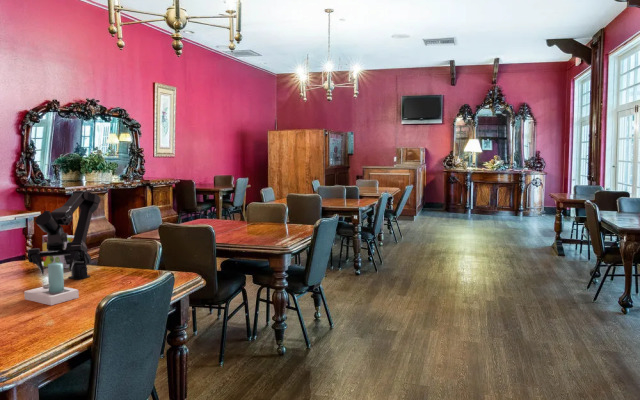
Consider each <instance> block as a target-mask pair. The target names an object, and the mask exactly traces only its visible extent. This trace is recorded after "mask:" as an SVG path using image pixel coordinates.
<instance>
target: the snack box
mask: <svg viewBox="0 0 640 400" xmlns="http://www.w3.org/2000/svg"><path fill="white" fill-rule="evenodd" d="M41 236H42V237H41V239H42V240H41V241H42V242H41V243H42V251H48V250H47V234H45V235H41ZM73 239H74V235H69V234H67V242H64V250H65V249H66V246H67V243H68V242H72V241H73ZM42 259H43V260H42V265H43V267H45V268H48V264H51V263H63V269H69V265H70V264H68V265H67V264H66V261H65V257H64V255H62V256H46V257H42Z"/></svg>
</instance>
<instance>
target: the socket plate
mask: <svg viewBox="0 0 640 400" xmlns="http://www.w3.org/2000/svg"><path fill="white" fill-rule="evenodd" d="M23 292H24V294H23V295H24V300H26V301H31V302H36V303H39V304H43V305H48V306H54V305H57V304H58V305H59V304H60V303H64V302H69V301H72V300H76V299H80V296H79V295H80V293H79V289H76V288H72V287H67V286H64V293H60V294H56V295H50V294H49V284H47V285H43V286H41V287H37V288H32V289H28V290H24V291H23Z"/></svg>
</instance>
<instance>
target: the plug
mask: <svg viewBox="0 0 640 400" xmlns="http://www.w3.org/2000/svg"><path fill="white" fill-rule="evenodd" d="M47 275H48V276H47V277H48V285H49V294H50V295H56V294H60V293H64V287H65V282H64V280H65V279H64V268H63V263H51V264H48V267H47Z"/></svg>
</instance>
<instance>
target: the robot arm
mask: <svg viewBox="0 0 640 400" xmlns="http://www.w3.org/2000/svg"><path fill="white" fill-rule="evenodd" d="M100 203H101V196H100V195H98V193H93V192H88V191H86V190H74V191H73V192H72V194H71V196H70V197H69V198H68V200H66V202H65V203H64V204H63V205H62V206H61V207H58V208H55V209H54V210H52V211H50V210H44V211H43V212H42V213H40V214H39V215H38V216H37V217H35V221H34V222H35V224H36V225H37V226H38V227H39V228H40V230H42V232H44V233H46V235H47V250H48V251H43V250H42V251H40V248H38V247H37V248H29V249H28V250H27V258H28V263H31V264H32V265H36V266H37V267H38V269H39V270H40V273H41V275H44V265H43V260H42V258H43V257H46V256H62V255H64V257H65V261H66V264H67V265H68V264H70V265H69V268H68V269H69V272H71V275H70V276H68V277H67V279H71V280H72V279H73V280H77V281H78V280H82V279H86V278H90V277H91V275H89V274H88V265H90V264H91V263H92V256H91V255H90V254H89V253H88V246H87V244H86V240H87V237H88V234H89V233H88V232H89V228H90V224H91V221H92V216H93V214H94V213H95V212H96V211H97V209H99V205H100ZM78 208H79V210H80V212H79V217H78V220H77V224H76V228H75V231H74V235H73V236H74V239H73V241H72V242H68V243H67V246H66V249H65V250H64V242H67V235H68V232H65V231H64V228H63V226H69V225H70V224H71V222H72V220H73V219H74V218H73V214H74V213H75V212H76V211H77V209H78Z"/></svg>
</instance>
